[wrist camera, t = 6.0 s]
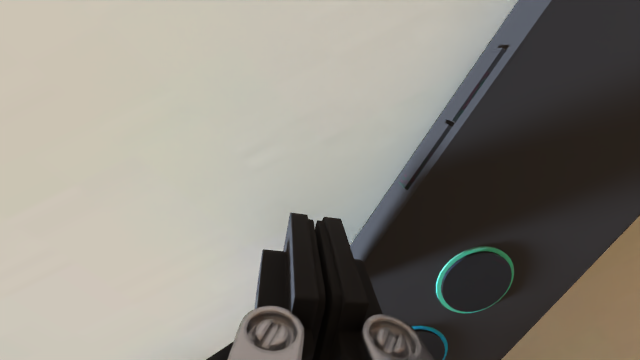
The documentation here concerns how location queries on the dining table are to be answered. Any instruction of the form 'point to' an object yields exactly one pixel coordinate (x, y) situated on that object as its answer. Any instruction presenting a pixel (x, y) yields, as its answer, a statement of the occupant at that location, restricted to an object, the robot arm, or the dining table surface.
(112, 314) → the dining table surface
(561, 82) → the smart home device
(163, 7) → the dining table surface
